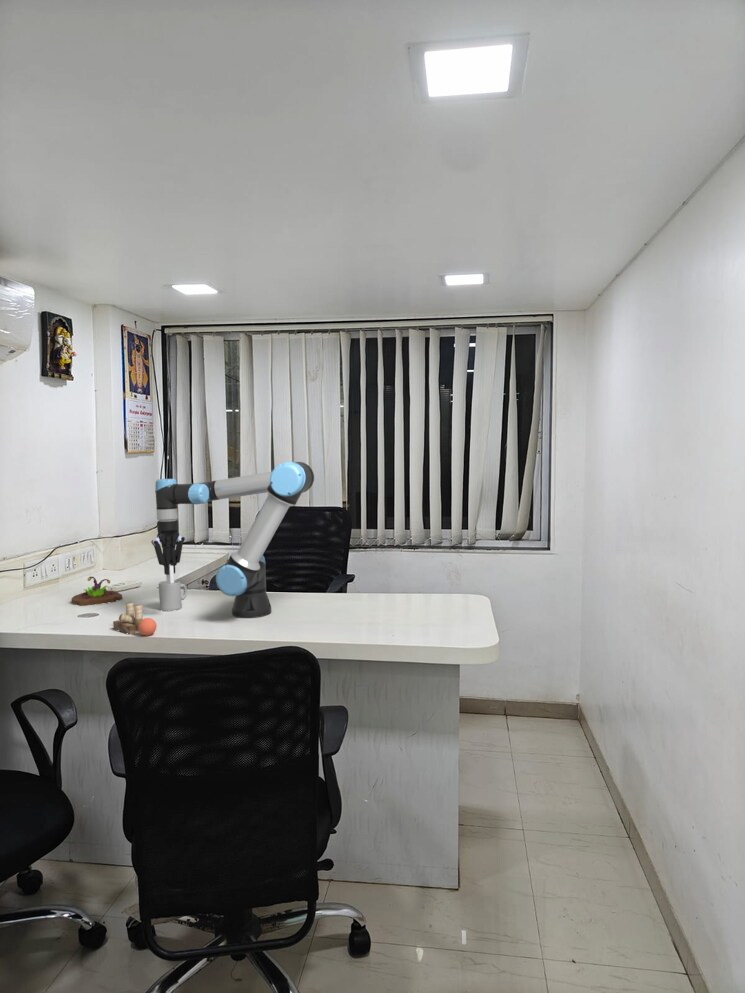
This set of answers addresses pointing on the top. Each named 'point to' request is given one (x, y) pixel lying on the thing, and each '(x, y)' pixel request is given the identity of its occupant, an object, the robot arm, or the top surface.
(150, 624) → the ball
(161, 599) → the mug
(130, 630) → the brown long block
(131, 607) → the pin
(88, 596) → the plant
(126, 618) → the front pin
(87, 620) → the top surface
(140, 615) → the pin
